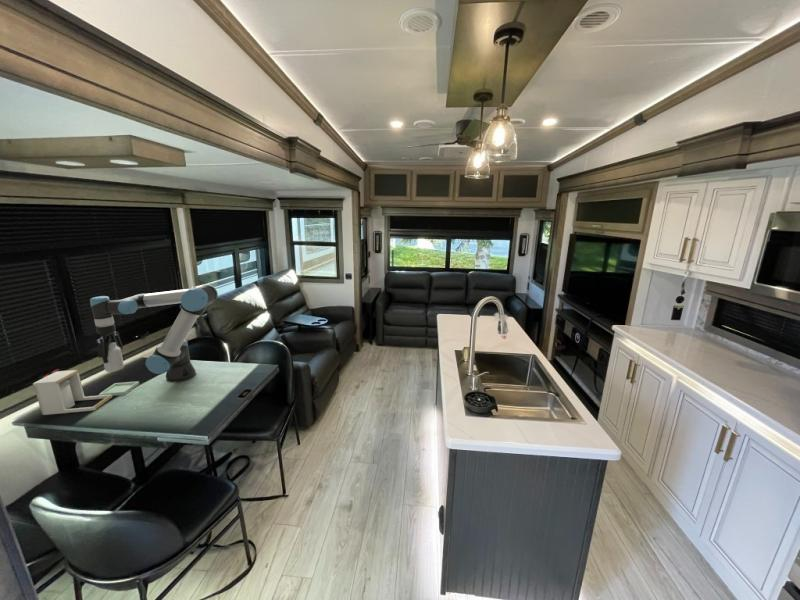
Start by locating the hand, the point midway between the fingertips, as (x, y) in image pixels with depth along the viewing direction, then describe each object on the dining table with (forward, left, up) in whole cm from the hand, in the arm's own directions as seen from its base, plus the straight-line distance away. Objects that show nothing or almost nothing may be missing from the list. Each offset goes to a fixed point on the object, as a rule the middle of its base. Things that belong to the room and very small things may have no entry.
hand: (114, 364), depth 175 cm
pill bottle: (0, 0, -3) cm, 3 cm away
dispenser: (+10, +14, -16) cm, 23 cm away
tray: (0, 0, -16) cm, 16 cm away
